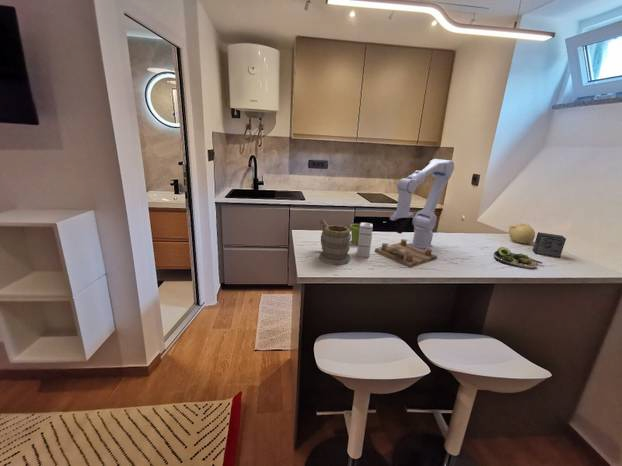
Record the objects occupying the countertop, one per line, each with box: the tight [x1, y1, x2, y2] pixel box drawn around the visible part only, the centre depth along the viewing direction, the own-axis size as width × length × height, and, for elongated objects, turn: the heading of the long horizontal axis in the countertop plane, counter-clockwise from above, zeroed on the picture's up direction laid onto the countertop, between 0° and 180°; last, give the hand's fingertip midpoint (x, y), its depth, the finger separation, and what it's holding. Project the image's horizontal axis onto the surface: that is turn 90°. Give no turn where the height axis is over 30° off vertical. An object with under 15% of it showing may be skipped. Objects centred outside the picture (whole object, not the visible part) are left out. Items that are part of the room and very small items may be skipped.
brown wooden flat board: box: [374, 238, 438, 268], centre depth 135 cm, size 20×20×4 cm
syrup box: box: [356, 222, 374, 258], centre depth 131 cm, size 6×6×14 cm
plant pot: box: [349, 223, 360, 245], centre depth 147 cm, size 9×9×9 cm
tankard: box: [319, 218, 352, 266], centre depth 127 cm, size 20×13×15 cm, turn 27°
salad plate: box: [493, 246, 543, 269], centre depth 136 cm, size 19×18×5 cm
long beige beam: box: [381, 242, 406, 256], centre depth 133 cm, size 12×3×2 cm, turn 41°
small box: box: [531, 232, 567, 259], centre depth 147 cm, size 11×6×10 cm, turn 65°
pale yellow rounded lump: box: [508, 222, 536, 245], centre depth 165 cm, size 12×12×11 cm
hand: (399, 232), depth 137 cm, fingers closed
